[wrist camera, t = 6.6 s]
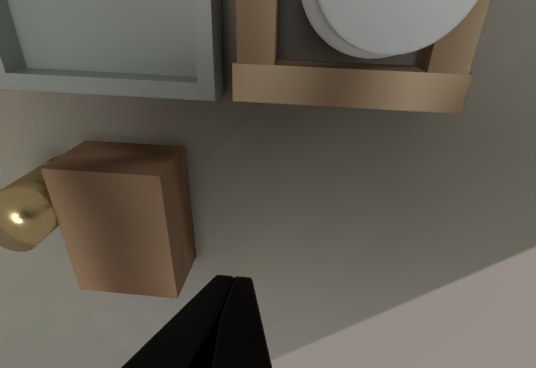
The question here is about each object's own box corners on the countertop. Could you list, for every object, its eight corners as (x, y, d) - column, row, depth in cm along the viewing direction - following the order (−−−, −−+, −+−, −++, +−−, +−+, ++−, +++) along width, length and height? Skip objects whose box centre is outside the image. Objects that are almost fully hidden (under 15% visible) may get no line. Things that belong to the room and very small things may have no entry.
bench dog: (88, 158, 20) (28, 200, 16) (99, 204, 22) (47, 254, 18) (38, 154, 21) (-35, 195, 16) (52, 200, 22) (-11, 248, 18)
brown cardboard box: (186, 145, 20) (159, 176, 16) (197, 254, 23) (177, 298, 20) (87, 139, 20) (40, 168, 17) (113, 246, 24) (80, 289, 20)
